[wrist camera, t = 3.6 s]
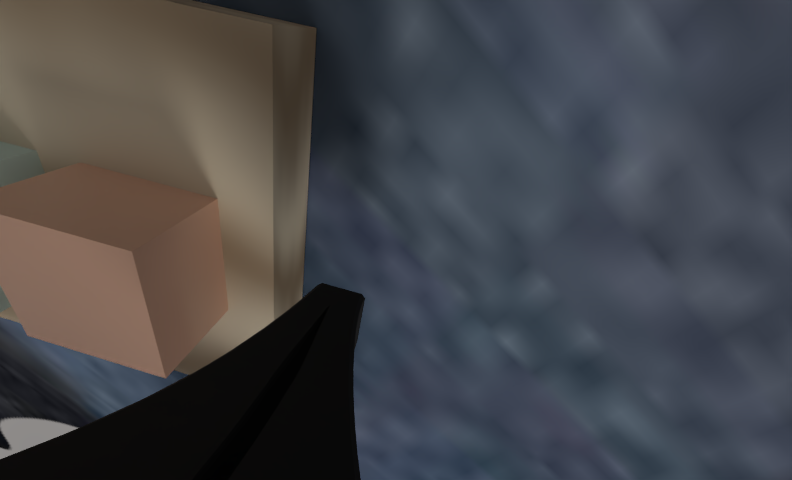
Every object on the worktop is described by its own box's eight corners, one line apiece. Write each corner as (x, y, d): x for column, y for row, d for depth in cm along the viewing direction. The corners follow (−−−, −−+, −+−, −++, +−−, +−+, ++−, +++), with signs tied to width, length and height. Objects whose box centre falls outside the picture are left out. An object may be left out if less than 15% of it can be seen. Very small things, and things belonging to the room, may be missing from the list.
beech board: (299, 355, 17) (274, 400, 15) (45, 281, 18) (-12, 313, 16) (316, 27, 10) (272, 24, 8) (-112, -68, 11) (-258, -94, 9)
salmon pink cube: (228, 309, 13) (166, 378, 10) (116, 277, 13) (27, 335, 10) (217, 198, 10) (131, 251, 8) (80, 162, 11) (-46, 201, 8)
